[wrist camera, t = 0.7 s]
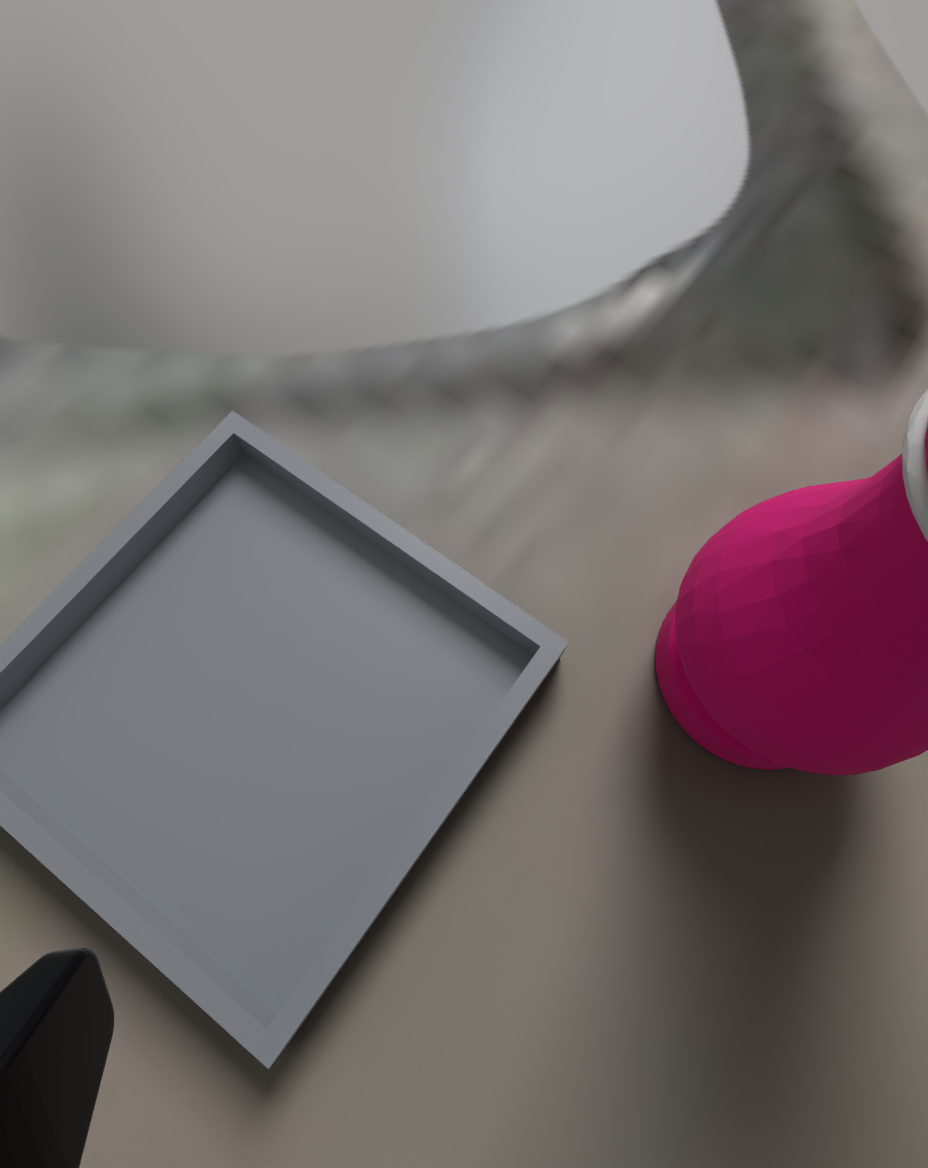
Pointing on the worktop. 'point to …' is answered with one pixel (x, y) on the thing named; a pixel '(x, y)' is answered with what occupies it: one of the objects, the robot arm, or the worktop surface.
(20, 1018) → the robot arm
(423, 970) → the worktop surface
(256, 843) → the slate tray
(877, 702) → the pink bowling pin
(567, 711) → the worktop surface
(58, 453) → the worktop surface
